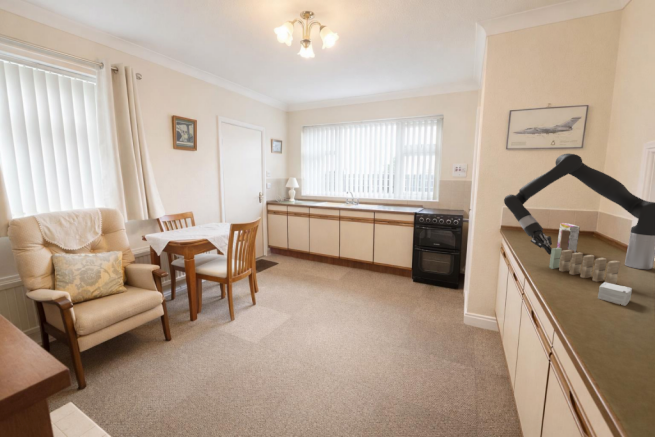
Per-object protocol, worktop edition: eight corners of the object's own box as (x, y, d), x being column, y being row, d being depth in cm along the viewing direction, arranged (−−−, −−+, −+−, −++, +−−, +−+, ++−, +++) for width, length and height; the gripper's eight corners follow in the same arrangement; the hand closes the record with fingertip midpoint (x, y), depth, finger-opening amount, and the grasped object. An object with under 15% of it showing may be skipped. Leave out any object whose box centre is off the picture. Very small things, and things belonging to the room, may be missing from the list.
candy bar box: (556, 248, 181) (559, 222, 178) (565, 248, 180) (568, 223, 177) (566, 253, 170) (570, 226, 168) (576, 253, 169) (580, 226, 167)
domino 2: (558, 270, 140) (561, 250, 139) (565, 269, 142) (568, 249, 140) (562, 271, 139) (565, 251, 137) (569, 270, 141) (572, 250, 139)
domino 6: (604, 284, 124) (608, 261, 122) (611, 282, 125) (615, 260, 124) (609, 285, 122) (613, 262, 121) (616, 284, 124) (620, 261, 122)
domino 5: (592, 280, 128) (595, 258, 126) (598, 279, 130) (602, 257, 128) (596, 281, 126) (600, 259, 125) (603, 280, 128) (607, 258, 126)
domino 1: (548, 267, 144) (551, 248, 143) (555, 266, 146) (558, 247, 145) (552, 268, 143) (555, 249, 141) (559, 267, 145) (561, 248, 143)
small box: (602, 293, 114) (604, 281, 113) (630, 301, 108) (633, 288, 107) (596, 298, 110) (598, 285, 109) (625, 306, 104) (628, 293, 103)
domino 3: (569, 273, 136) (572, 253, 135) (575, 272, 138) (579, 252, 136) (573, 274, 135) (576, 254, 133) (580, 273, 136) (583, 253, 135)
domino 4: (580, 276, 132) (583, 255, 130) (586, 275, 134) (590, 254, 132) (584, 278, 131) (587, 256, 129) (591, 276, 132) (594, 255, 131)
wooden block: (558, 256, 165) (562, 230, 162) (558, 254, 167) (561, 229, 165) (573, 257, 161) (577, 231, 159) (572, 256, 164) (576, 230, 162)
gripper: (527, 222, 150) (549, 251, 140) (544, 220, 154) (567, 248, 145) (516, 230, 155) (537, 258, 146) (533, 228, 160) (554, 256, 150)
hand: (551, 253), depth 145 cm, fingers closed
